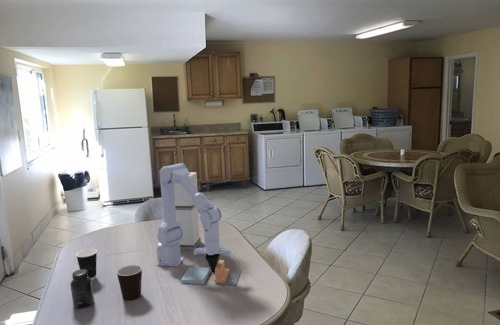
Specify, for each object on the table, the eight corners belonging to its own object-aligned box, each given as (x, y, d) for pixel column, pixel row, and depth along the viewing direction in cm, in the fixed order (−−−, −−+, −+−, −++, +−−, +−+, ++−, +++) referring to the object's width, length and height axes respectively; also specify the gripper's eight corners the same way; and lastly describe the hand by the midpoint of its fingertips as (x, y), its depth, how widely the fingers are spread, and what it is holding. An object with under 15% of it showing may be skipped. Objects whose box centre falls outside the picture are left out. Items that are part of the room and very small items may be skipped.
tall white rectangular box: (200, 241, 191) (196, 172, 185) (193, 249, 180) (189, 176, 175) (178, 240, 193) (174, 172, 187) (170, 248, 182) (165, 176, 177)
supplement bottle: (77, 299, 138) (73, 268, 136) (96, 298, 138) (93, 267, 136) (70, 310, 131) (66, 277, 129) (90, 308, 132) (86, 275, 130)
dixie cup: (87, 284, 149) (84, 257, 147) (74, 280, 153) (71, 254, 151) (104, 276, 156) (101, 250, 154) (91, 272, 160) (88, 247, 158)
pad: (215, 284, 145) (215, 284, 145) (221, 270, 157) (221, 270, 157) (236, 285, 144) (236, 284, 144) (241, 271, 156) (241, 270, 156)
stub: (214, 282, 146) (213, 269, 145) (220, 271, 156) (219, 258, 155) (224, 282, 146) (224, 270, 145) (229, 271, 155) (229, 259, 155)
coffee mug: (137, 303, 134) (134, 276, 132) (114, 301, 136) (112, 274, 134) (151, 287, 145) (149, 262, 143) (131, 285, 147) (128, 261, 145)
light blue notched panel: (181, 282, 148) (181, 279, 147) (189, 270, 158) (189, 266, 158) (204, 283, 146) (203, 280, 146) (210, 270, 157) (210, 267, 157)
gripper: (190, 242, 146) (193, 275, 148) (228, 242, 144) (230, 276, 146) (196, 235, 153) (198, 267, 155) (231, 236, 151) (233, 268, 153)
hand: (213, 271), depth 151 cm, fingers closed
